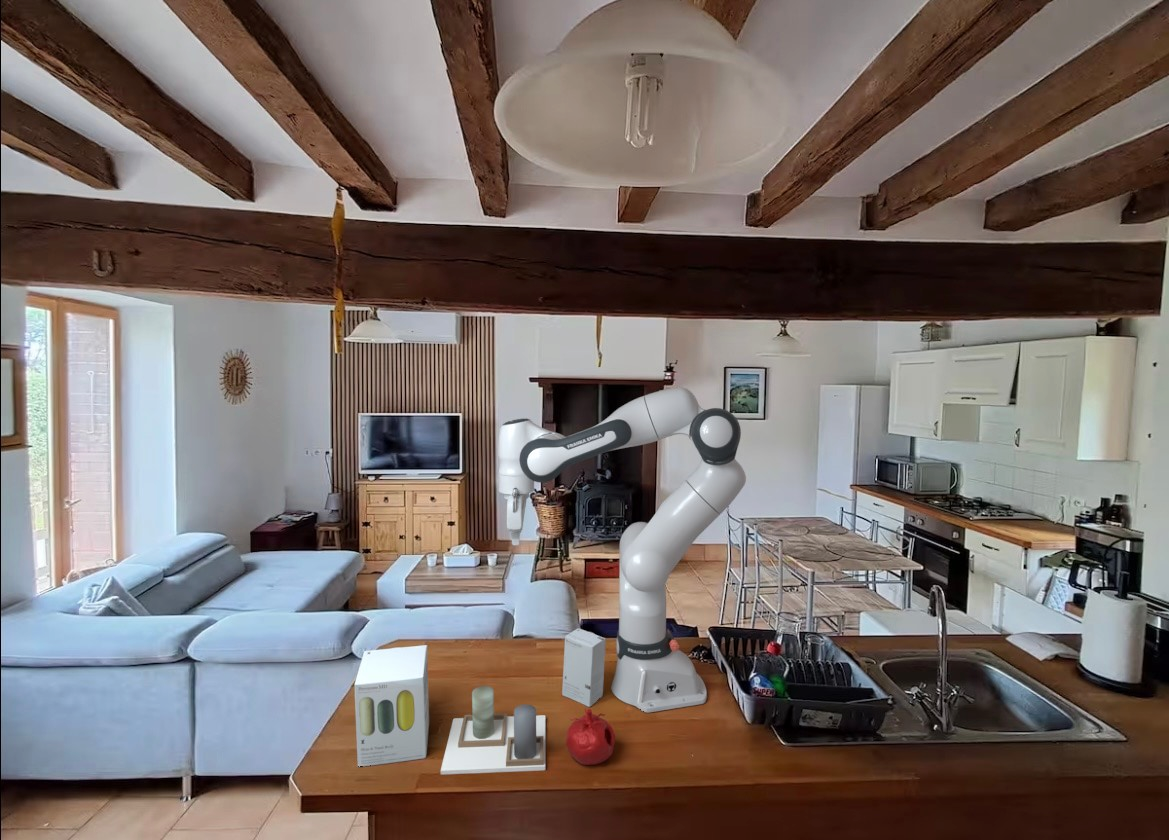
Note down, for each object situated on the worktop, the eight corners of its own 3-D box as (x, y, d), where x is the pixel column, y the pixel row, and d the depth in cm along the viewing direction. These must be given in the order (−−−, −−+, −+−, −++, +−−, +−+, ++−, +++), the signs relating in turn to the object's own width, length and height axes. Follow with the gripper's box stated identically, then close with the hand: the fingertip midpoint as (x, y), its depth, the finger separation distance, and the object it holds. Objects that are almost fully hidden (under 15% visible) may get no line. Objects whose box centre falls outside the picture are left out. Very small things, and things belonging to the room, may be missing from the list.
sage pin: (494, 725, 126) (494, 685, 124) (493, 738, 121) (492, 697, 120) (474, 725, 125) (473, 686, 124) (471, 739, 121) (470, 698, 120)
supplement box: (356, 769, 113) (352, 684, 111) (366, 726, 126) (363, 649, 124) (426, 759, 116) (424, 676, 114) (429, 718, 129) (427, 643, 127)
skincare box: (561, 696, 138) (561, 636, 136) (576, 684, 143) (576, 626, 141) (591, 708, 133) (591, 646, 131) (605, 696, 138) (606, 636, 136)
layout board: (545, 718, 129) (545, 676, 128) (545, 770, 113) (545, 723, 112) (453, 721, 128) (452, 679, 127) (440, 774, 112) (439, 726, 111)
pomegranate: (572, 777, 112) (571, 732, 111) (560, 742, 121) (559, 701, 120) (621, 766, 114) (621, 722, 113) (606, 733, 124) (605, 693, 123)
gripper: (527, 494, 135) (528, 552, 136) (530, 475, 155) (530, 526, 157) (500, 494, 134) (501, 552, 136) (506, 475, 155) (506, 526, 156)
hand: (516, 538), depth 146 cm, fingers open, 8 cm apart
